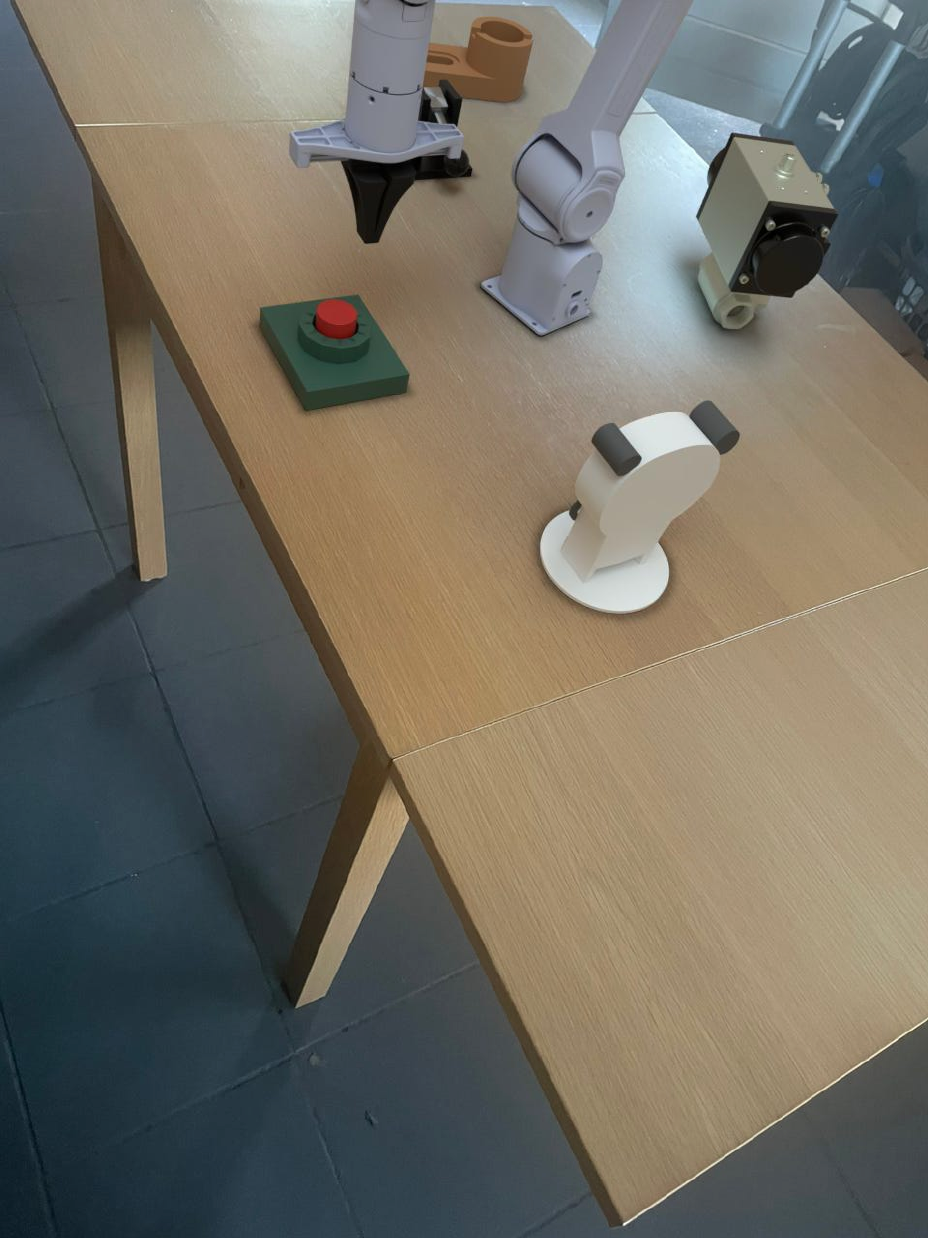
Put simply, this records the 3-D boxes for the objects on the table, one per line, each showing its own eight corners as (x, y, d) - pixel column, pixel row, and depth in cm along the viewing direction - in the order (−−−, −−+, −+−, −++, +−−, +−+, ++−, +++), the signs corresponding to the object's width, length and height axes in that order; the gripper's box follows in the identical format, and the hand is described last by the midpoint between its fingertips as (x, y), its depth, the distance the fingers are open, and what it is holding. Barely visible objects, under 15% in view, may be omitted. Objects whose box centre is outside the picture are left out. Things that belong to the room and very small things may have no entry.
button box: (406, 392, 86) (412, 358, 83) (305, 410, 82) (308, 375, 79) (356, 312, 91) (360, 277, 88) (259, 326, 87) (260, 290, 84)
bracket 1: (471, 176, 111) (484, 110, 105) (411, 180, 108) (421, 112, 102) (437, 132, 116) (448, 67, 110) (378, 134, 113) (386, 67, 106)
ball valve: (781, 362, 101) (868, 212, 87) (710, 356, 99) (788, 201, 85) (733, 264, 111) (805, 115, 97) (668, 257, 109) (732, 104, 95)
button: (361, 337, 84) (363, 321, 82) (324, 343, 82) (325, 326, 81) (346, 312, 85) (347, 296, 84) (309, 318, 84) (310, 301, 83)
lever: (467, 181, 107) (476, 162, 105) (444, 182, 106) (452, 163, 103) (436, 105, 109) (444, 84, 107) (413, 105, 108) (420, 84, 105)
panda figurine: (626, 496, 84) (690, 364, 72) (698, 589, 79) (780, 464, 67) (515, 527, 79) (564, 391, 67) (584, 629, 74) (651, 502, 62)
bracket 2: (513, 74, 130) (525, 20, 124) (526, 104, 125) (539, 50, 120) (387, 59, 125) (394, 2, 119) (396, 89, 120) (404, 32, 115)
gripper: (448, 50, 75) (423, 204, 86) (278, 51, 70) (273, 217, 80) (486, 94, 72) (455, 249, 83) (310, 99, 66) (301, 265, 77)
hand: (367, 236), depth 81 cm, fingers closed
